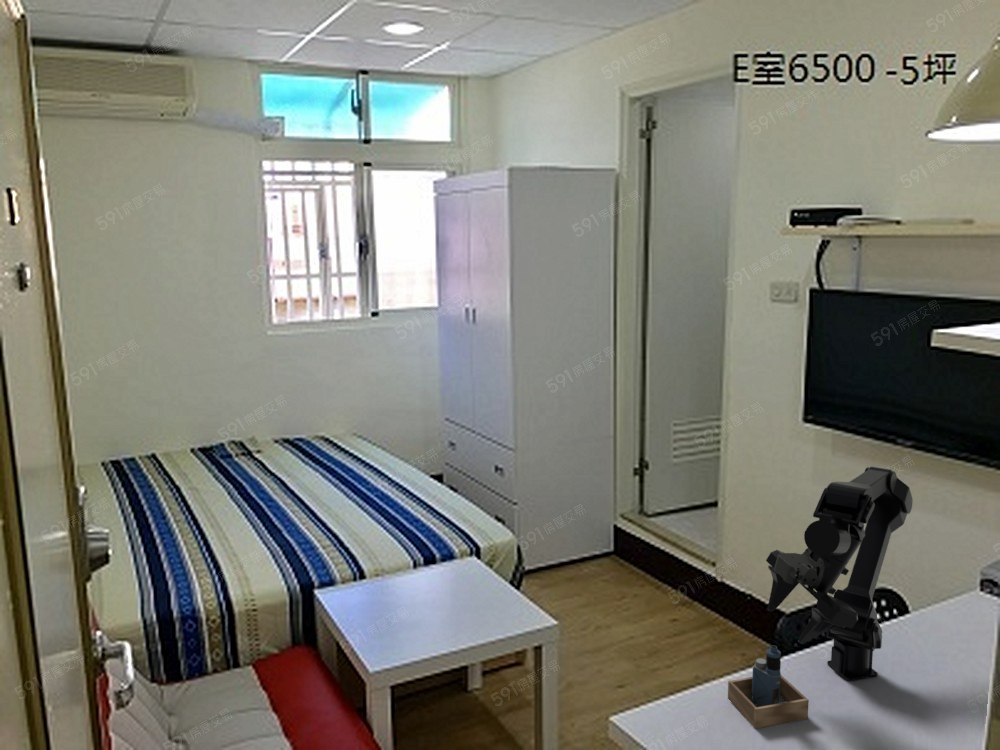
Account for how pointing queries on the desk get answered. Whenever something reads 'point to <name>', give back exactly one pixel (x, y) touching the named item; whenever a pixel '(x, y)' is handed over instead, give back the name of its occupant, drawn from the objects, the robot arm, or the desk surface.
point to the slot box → (771, 713)
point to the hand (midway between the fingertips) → (784, 626)
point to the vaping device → (767, 678)
